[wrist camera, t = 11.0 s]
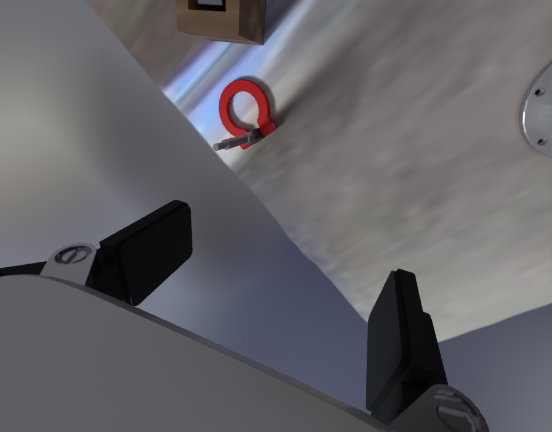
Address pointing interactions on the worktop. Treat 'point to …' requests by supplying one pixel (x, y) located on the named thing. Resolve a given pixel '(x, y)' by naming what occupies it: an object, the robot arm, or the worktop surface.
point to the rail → (214, 5)
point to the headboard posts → (223, 21)
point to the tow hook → (241, 135)
